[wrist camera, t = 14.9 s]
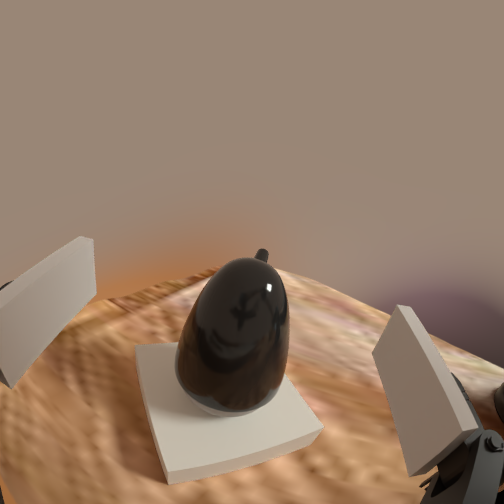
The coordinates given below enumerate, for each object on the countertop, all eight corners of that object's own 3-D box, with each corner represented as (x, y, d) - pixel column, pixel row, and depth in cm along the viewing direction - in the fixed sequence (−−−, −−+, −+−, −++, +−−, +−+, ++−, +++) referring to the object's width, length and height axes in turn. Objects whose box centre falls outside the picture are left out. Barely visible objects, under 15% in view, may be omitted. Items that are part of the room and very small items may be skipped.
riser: (250, 354, 39) (257, 333, 37) (310, 444, 26) (324, 427, 24) (136, 367, 31) (134, 344, 30) (168, 484, 18) (167, 471, 17)
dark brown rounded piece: (277, 372, 31) (321, 255, 25) (261, 444, 22) (323, 318, 16) (194, 346, 32) (213, 224, 26) (156, 409, 23) (159, 268, 17)
